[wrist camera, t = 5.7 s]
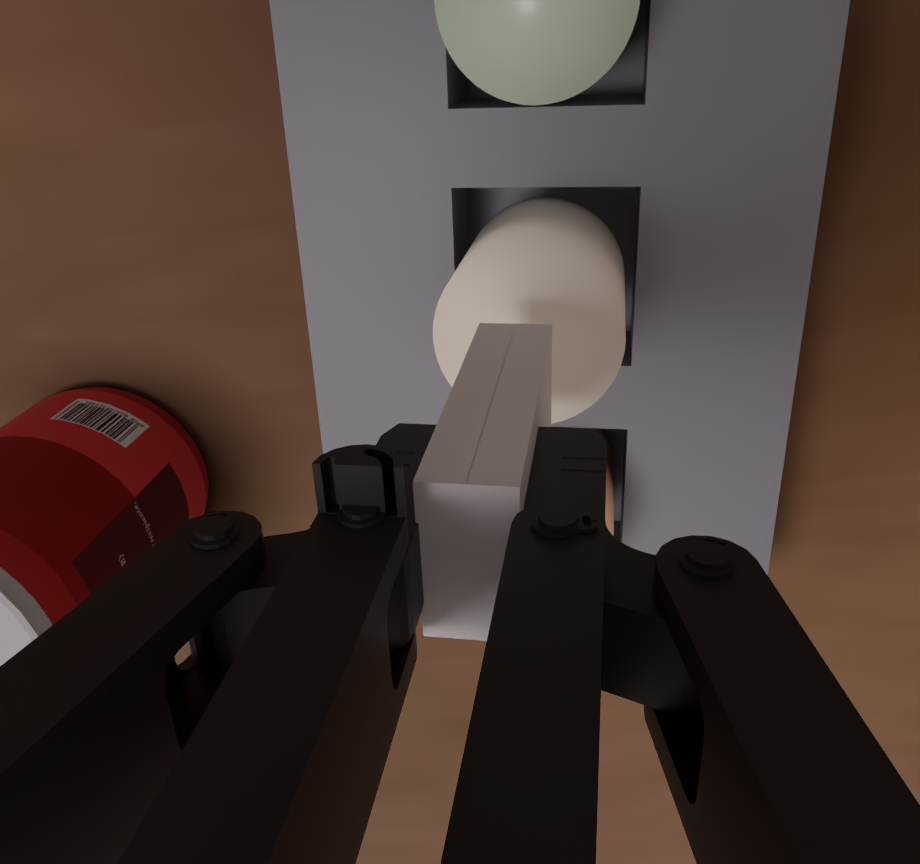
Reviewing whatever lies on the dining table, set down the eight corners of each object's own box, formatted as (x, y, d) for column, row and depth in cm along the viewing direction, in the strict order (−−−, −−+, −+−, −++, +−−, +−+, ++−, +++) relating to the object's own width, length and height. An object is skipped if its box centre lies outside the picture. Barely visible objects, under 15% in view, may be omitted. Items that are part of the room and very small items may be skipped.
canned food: (-10, 410, 34) (-263, 573, 24) (155, 353, 32) (-51, 507, 22) (90, 567, 37) (-102, 770, 27) (249, 525, 34) (102, 730, 25)
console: (302, -154, 24) (247, -182, 20) (840, -194, 21) (884, -234, 18) (368, 526, 33) (339, 588, 30) (745, 548, 31) (761, 618, 28)
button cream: (464, 197, 23) (427, 242, 19) (628, 196, 23) (630, 242, 18) (469, 349, 25) (437, 422, 21) (620, 353, 25) (621, 429, 20)
